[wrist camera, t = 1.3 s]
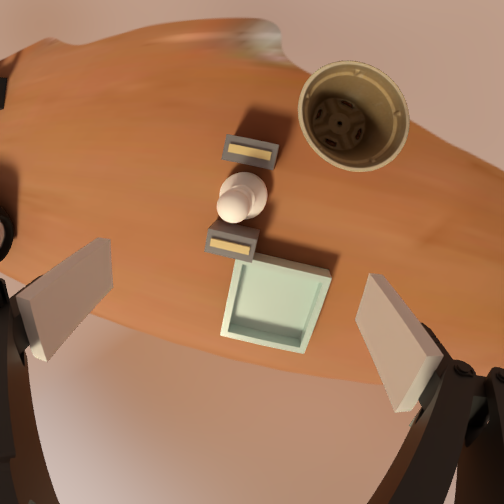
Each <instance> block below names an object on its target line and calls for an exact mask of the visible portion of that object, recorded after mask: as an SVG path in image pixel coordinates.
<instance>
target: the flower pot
mask: <svg viewBox="0 0 504 504" xmlns="http://www.w3.org/2000/svg"><path fill="white" fill-rule="evenodd" d="M342 101H347V102H348V103H350V104H351V105H352V106H353V107H352V108H351V107H349V106H347V105H345V104H343V103H342ZM319 110H322V112H321V115H320V116H319V118H316V117H317V114H318V112H319ZM298 117H299V123H300V127H301V129H302V132H303V134H304V136H305V138H306V140H307V142H308V143H309V145H310V146H311V147H312V148H313V150H314V151H315V152H316V153H317V154H318V155H319V156H320V157H322V158H323V159H324V160H325V161H327V162H329V163H330V164H332V165H334V166H336V167H338V168H341V169H344V170H348V171H355V172H365V171H372V170H375V169H378V168H381V167H383V166H385V165H387V164H388V163H389V162H391V161H392V160H393V159H394V158H395V157H396V156H397V155H398V154H399V152H400V151H401V150H402V148H403V146H404V144H405V142H406V139H407V136H408V132H409V124H410V123H409V112H408V107H407V103H406V101H405V98H404V96H403V94H402V93H401V91H400V89H399V88H398V86H397V85H396V84H395V83H394V81H393V80H391V78H389V77H388V76H387V75H386V74H385V73H383V72H382V71H380V70H379V69H377V68H375V67H373V66H371V65H368V64H365V63H361V62H357V61H339V62H334V63H331V64H328V65H325V66H323V67H322V68H320V69H318V70H317V71H316V72H315V73H313V74H312V75H311V76H310V78H309V79H308V80H307V82H306V83H305V85H304V87H303V89H302V91H301V94H300V98H299V103H298ZM339 121H340V122H341V123H342V124H341V125H338V122H339ZM359 129H361V134H360V137H359V139H356V137H355V136H356V135H357V133H358V131H359ZM326 139H329V140H331V141H332V142H335V143H336V145H335V146H331V145H329V144H328V143H326V142H325V140H326Z"/></svg>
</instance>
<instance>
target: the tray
mask: <svg viewBox="0 0 504 504" xmlns="http://www.w3.org/2000/svg"><path fill="white" fill-rule="evenodd" d="M331 279H332V277H331V275H330V272H329V270H328V269H324V268H320V267H315V266H311V265H307V264H303V263H299V262H294V261H290V260H286V259H282V258H278V257H273V256H269V255H265V254H261V253H257V252H255V254H254V257H253V261H252V263H250V262H246V261H241V260H237V259H236V260H235V265H234V269H233V274H232V279H231V284H230V289H229V294H228V299H227V304H226V309H225V313H224V318H223V323H222V328H221V333H220V335H221V336H225V337H229V338H233V339H237V340H242V341H246V342H250V343H255V344H259V345H263V346H268V347H273V348H277V349H282V350H287V351H292V352H297V353H302V354H304V353H305V350H306V348H307V345H308V342H309V340H310V337H311V335H312V332H313V329H314V327H315V324H316V321H317V319H318V316H319V313H320V311H321V308H322V305H323V302H324V299H325V297H326V294H327V291H328V288H329V285H330V282H331Z"/></svg>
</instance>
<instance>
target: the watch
mask: <svg viewBox="0 0 504 504" xmlns="http://www.w3.org/2000/svg"><path fill="white" fill-rule="evenodd" d="M6 83H7V78H1V77H0V110H2V109H4V99H5V90H6Z"/></svg>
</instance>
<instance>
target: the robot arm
mask: <svg viewBox="0 0 504 504" xmlns="http://www.w3.org/2000/svg"><path fill="white" fill-rule="evenodd" d="M112 288H113V278H112V263H111V242H110V239H106V238H96V239H95V240H93V241H92V242H90V243H89V244H87V245H86V246H84V247H83V248H81V249H80V250H78V251H77V252H75V253H74V254H72V255H71V256H70V257H68V258H67V259H65V260H64V261H62V262H61V263H59V264H58V265H57V266H55V267H54V268H52V269H51V270H50V271H48V272H47V273H45V274H44V275H41V276H39V277H37V278H36V279H35V280H33V281H32V282H31V283H29V284H28V285H26V287H24V288H22V289H21V290H20V291H19V292H17V293H16V294H15V295H14V296H12V297H11V298H9V297H8V293H7V288H6V284H5V280H3V279H2V278H0V504H60V503H59V502H58V499H57V497H56V494H55V491H54V488H53V485H52V482H51V479H50V476H49V473H48V470H47V466H46V463H45V459H44V456H43V452H42V448H41V443H40V440H39V435H38V431H37V426H36V420H35V415H34V410H33V404H32V397H31V390H30V382H29V373H28V362H27V356H26V353H25V349H26V348H27V347H28V346H29V345H30V348H31V351H32V354H33V356H34V357H36V358H38V359H41V360H43V361H46V362H48V361H49V360H50V358H51V357H52V356H53V354H54V353H55V352H56V351H57V350H58V349H59V347H60V346H61V345H62V344H63V343H64V341H65V340H66V339H67V338H68V337H69V336H70V335H71V333H72V332H73V331H74V330H75V329H76V328H77V327H78V325H79V324H80V323H81V322H82V321H83V320H84V319H85V318H86V316H87V315H88V314H89V313H90V312H91V311H92V310H93V309H94V308H95V306H96V305H97V304H98V303H99V302H100V301H101V300H102V299H103V298H104V297H105V296H106V294H107V293H108V292H109V291H110V290H111V289H112ZM355 321H356V323H357V325H358V328H359V330H360V332H361V334H362V336H363V339H364V341H365V343H366V345H367V347H368V350H369V352H370V354H371V357H372V359H373V361H374V363H375V366H376V368H377V370H378V373H379V375H380V378H381V380H382V382H383V385H384V387H385V390H386V392H387V394H388V397H389V399H390V402H391V404H392V407H393V409H394V412H406V411H411V410H412V409H413V407H414V406H415V404H416V403H417V401H418V400H419V402H420V404H421V406H422V407H421V409H420V410H419V412H418V413H417V415H416V416H415V418H414V419H413V420H412V422H411V424H410V425H409V426H410V427H411V428H410V431H409V433H408V435H407V437H406V439H405V441H404V443H403V444H402V447H401V449H400V450H399V452H398V454H397V456H396V458H395V460H394V461H393V463H392V465H391V466H390V468H389V470H388V472H387V474H386V475H385V477H384V478H383V480H382V482H381V483H380V485H379V486H378V488H377V490H376V491H375V493H374V494H373V496H372V497H371V499H370V500H369V502H368V503H367V504H443V503H444V501H445V498H446V496H447V493H448V490H449V487H450V485H451V482H452V479H453V476H454V473H455V470H456V467H457V481H456V493H455V501H454V504H504V369H502V368H500V367H494V368H492V369H491V370H490V372H489V374H488V375H487V377H483V376H477V375H476V373H475V371H474V369H473V368H472V367H471V366H470V365H469V364H467V363H465V362H463V361H460V360H453V359H452V358H451V356H450V355H449V353H448V352H447V351H446V349H445V348H444V346H443V345H442V344H441V343H440V341H439V340H438V338H436V336H435V334H434V333H433V332H432V330H431V329H430V328H428V327H427V326H426V325H425V324H423V323H420V322H419V321H418V319H417V318H416V317H415V315H414V314H413V313H412V311H411V310H410V309H409V307H408V306H407V305H406V304H405V302H404V301H403V300H402V298H401V297H400V296H399V295H398V293H397V292H396V291H395V290H394V288H393V287H392V286H391V285H390V283H389V282H388V281H387V280H386V278H385V277H384V276H383V275H381V274H373V273H369V276H368V279H367V283H366V286H365V289H364V293H363V296H362V299H361V302H360V306H359V309H358V312H357V315H356V318H355ZM488 421H489V422H488ZM487 422H488V424H487Z"/></svg>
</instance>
